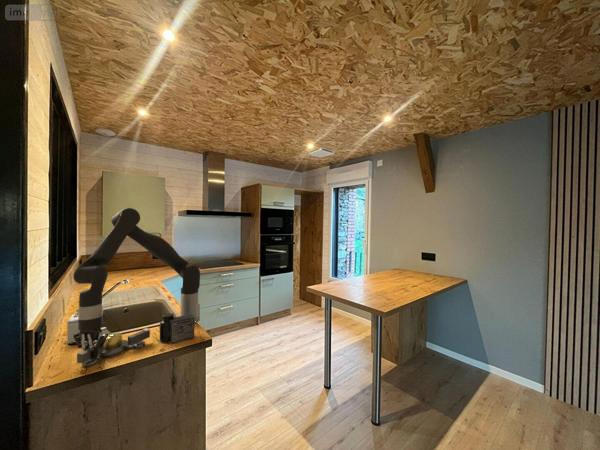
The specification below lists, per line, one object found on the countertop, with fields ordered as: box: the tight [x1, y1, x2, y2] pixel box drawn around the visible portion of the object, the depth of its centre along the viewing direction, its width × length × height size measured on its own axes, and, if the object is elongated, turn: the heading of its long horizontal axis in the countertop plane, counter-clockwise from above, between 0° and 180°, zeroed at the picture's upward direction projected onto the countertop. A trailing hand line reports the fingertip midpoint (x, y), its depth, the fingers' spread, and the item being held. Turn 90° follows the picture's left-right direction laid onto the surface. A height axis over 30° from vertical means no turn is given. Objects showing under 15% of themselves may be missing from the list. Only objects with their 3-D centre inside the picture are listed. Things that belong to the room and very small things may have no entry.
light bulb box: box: [66, 313, 80, 345], centre depth 119 cm, size 11×7×11 cm, turn 35°
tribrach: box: [81, 332, 146, 368], centre depth 108 cm, size 22×21×7 cm
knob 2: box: [127, 327, 151, 345], centre depth 112 cm, size 9×2×5 cm, turn 158°
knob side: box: [101, 326, 112, 334], centre depth 114 cm, size 9×2×5 cm, turn 54°
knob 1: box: [76, 344, 103, 364], centre depth 98 cm, size 9×2×5 cm, turn 174°
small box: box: [169, 314, 195, 345], centre depth 120 cm, size 11×6×10 cm, turn 127°
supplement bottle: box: [159, 312, 175, 344], centre depth 119 cm, size 7×7×12 cm
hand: (90, 358), depth 98 cm, fingers closed on knob 1, 2 cm apart
